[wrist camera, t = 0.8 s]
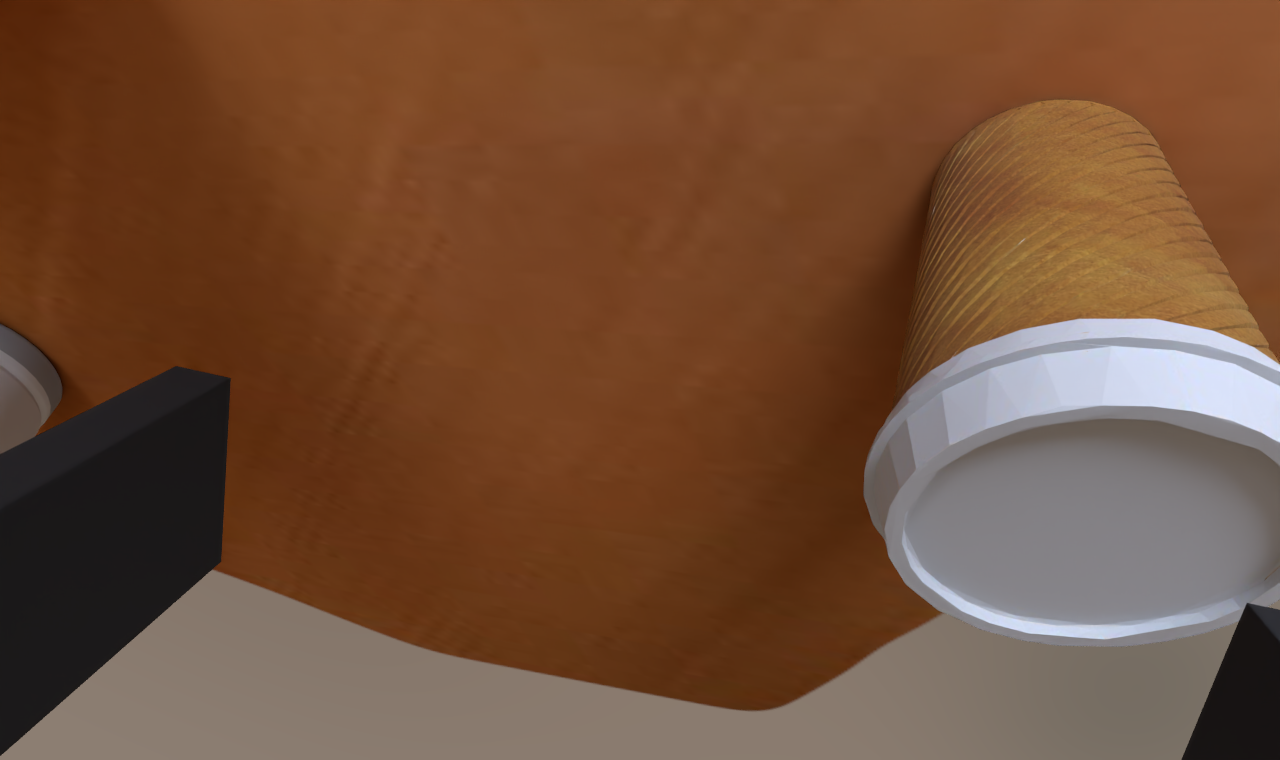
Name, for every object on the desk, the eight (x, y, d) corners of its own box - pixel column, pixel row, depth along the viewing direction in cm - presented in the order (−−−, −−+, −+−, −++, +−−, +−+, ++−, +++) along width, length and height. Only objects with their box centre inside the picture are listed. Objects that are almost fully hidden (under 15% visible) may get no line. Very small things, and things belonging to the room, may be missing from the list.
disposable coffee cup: (869, 313, 34) (858, 639, 26) (879, 47, 27) (866, 377, 19) (1185, 319, 32) (1278, 675, 24) (1280, 34, 25) (1454, 396, 17)
